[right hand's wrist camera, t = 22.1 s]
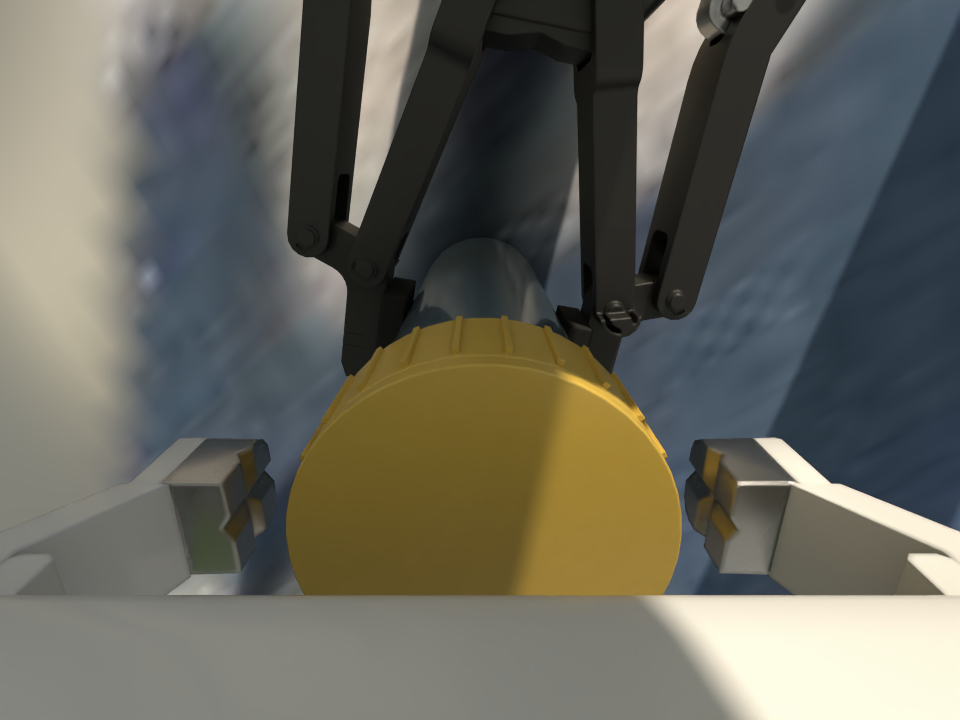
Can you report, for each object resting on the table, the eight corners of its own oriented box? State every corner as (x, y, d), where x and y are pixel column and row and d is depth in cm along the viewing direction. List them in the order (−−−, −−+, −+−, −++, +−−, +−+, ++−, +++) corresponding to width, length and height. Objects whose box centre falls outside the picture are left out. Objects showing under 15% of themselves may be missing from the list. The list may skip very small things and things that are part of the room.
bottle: (408, 325, 24) (290, 586, 9) (447, 218, 22) (383, 322, 7) (511, 365, 25) (559, 667, 10) (557, 263, 23) (699, 441, 8)
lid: (626, 280, 9) (674, 319, 7) (655, 565, 11) (699, 664, 9) (280, 348, 9) (219, 403, 7) (372, 609, 11) (347, 715, 9)
